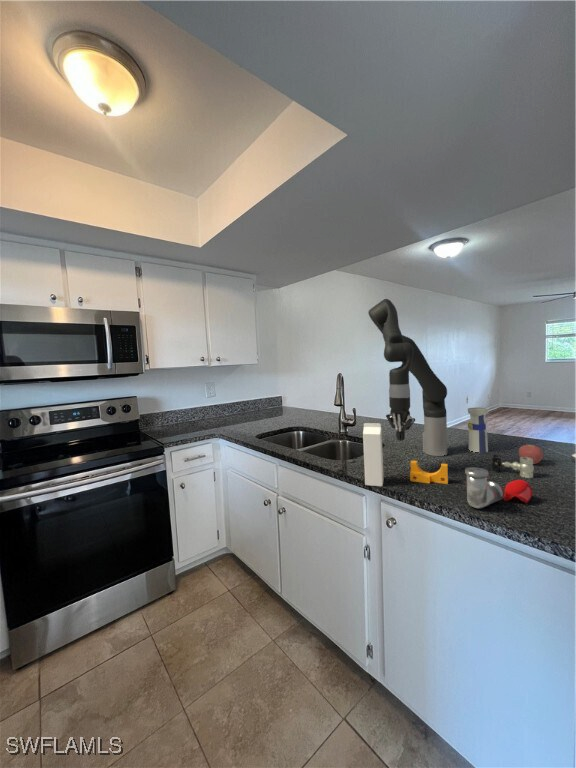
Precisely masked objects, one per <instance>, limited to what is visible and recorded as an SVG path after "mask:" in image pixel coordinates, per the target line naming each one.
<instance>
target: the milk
mask: <svg viewBox="0 0 576 768" xmlns="http://www.w3.org/2000/svg"><path fill="white" fill-rule="evenodd" d="M381 426H382V424H381V423H378V422H377V423H376V422H375V423H373V422H366V423H365V422H364V423H363V429H362V430H363V431H362V437H363V438H362V442H363V461H364V462H363V464H364V485H365V486H371V487H372V486H373V487H374V486H375V487H383V486H384V485H383V484H384V459H383V455H384V453H383V436H382V435H383V431H382V430H383V429H382V427H381Z"/></svg>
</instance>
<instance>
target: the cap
mask: <svg viewBox="0 0 576 768" xmlns="http://www.w3.org/2000/svg"><path fill="white" fill-rule="evenodd" d="M533 494H534V493H533V489H532V487H531V485H530V483H528V482H527V481H525V480H523V479H514V480H512V481H510V482H507V483H506V486H505V487H504V496H503V500H504V501H505V502H507V501H510V500H512V499H513V498H514V497H515V498H517V499H519V500H520V501H522V502H523V503H525V504H528V503H529V501H530V500H531V498H532V496H533Z"/></svg>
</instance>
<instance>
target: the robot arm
mask: <svg viewBox="0 0 576 768" xmlns="http://www.w3.org/2000/svg"><path fill="white" fill-rule="evenodd" d="M368 315H369V318H370V320H371V321H372V323H373V324H374V325H375V326H376V327H377V330H379V331H380V332H381V334H382V338H383V340H384V350H383V358H384V359H385V361H386V362H389V363H401V365H400V366H398V367H393V368H391V369H389V373H388V375H389V376H388V378H389V379H388V380H389V386H388V387H389V389H388V395H389V397H388V400H389V401H388V402H389V404H388V405H389V406H388V407H389V408H390V411H389V412H390V413H388V414H386V415H385V417H386V419H387V421H388V423H389V425H390V426H391V428H392V429H395V432H396V433H395V434H396V440H397V441H399V442H400V441H401V442H402V441H404V440H405V438H406V437H405V436H406V434H405V431H409V430H410V428H412V426H413V424H414V423H415V422H416V418H415V417H412V416H411V412H410V408H411V389H410V373H411V374H412V375H413V376H414V378H415V379H416V380H417V382H418V384H419V386H420V387H421V389H422V390H421V391H422V393H421V395H422V410H423V426H424V428H423V429H424V431H422V453H425V454H426V455H429V456H432V457H433V456H434V457H444V455H445V456H447V455H448V425H447V420H448V419H447V408H446V401H445V400H446V398H447V396H448V388H447V386H446V385H445V384H444V383H443V381H442V380H441V379H440V378H439V376H437V374H436V373H435V372H434V371H433V370H432V368H431V367H430V364H429V362H428V360H427V359H426V357H425V356H424V354H423V352H422V351H421V349H420V348H419V346H418V345H417V344H416V342H415V341H414V340H413V339H412V338H411V337H408V336H406V335H403V334H402V331H401V329H400V325H399V317H398V316H399V315H398V310H397V308H396V306H395V305H394V303H393V302H392V301H391V300H390V299H388V298H385V299H383V300H380V302H378V303H377V304H375V305H374V306H372V308H370V309H369V310H368Z"/></svg>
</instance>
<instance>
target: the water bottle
mask: <svg viewBox="0 0 576 768" xmlns="http://www.w3.org/2000/svg"><path fill="white" fill-rule="evenodd" d="M468 398H469V397H468V396H466V404H468V400H469V399H468ZM467 413H468V416H469V417H470V418H469V421H468V423H467V428H468V449H469V450H470V451H469V450H468V451H469V452H471V451H473V452H472V453H475V452H479V453H478V454H487V453H489V445H488V431H487V424H488V421H487V420H486V416H487V415H488V414H489V410H488V408H487V407H468V408H467ZM486 452H487V453H486Z"/></svg>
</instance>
